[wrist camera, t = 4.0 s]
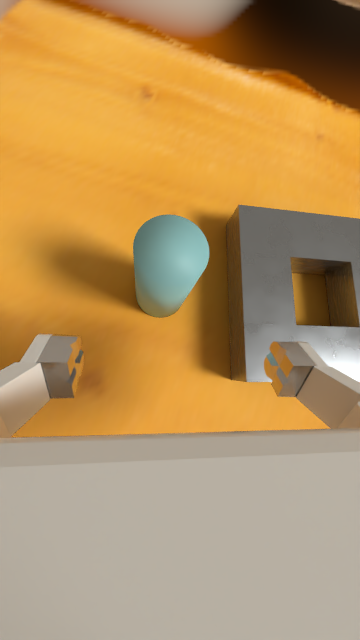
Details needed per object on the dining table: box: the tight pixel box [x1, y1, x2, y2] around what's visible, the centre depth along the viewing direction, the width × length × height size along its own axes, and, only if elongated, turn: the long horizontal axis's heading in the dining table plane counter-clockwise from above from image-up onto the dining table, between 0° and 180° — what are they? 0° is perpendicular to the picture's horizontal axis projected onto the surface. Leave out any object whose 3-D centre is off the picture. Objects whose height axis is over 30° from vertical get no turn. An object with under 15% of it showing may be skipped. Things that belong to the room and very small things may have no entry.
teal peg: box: [133, 215, 209, 318], centre depth 17 cm, size 4×4×8 cm
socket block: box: [226, 205, 360, 382], centre depth 21 cm, size 14×14×3 cm
